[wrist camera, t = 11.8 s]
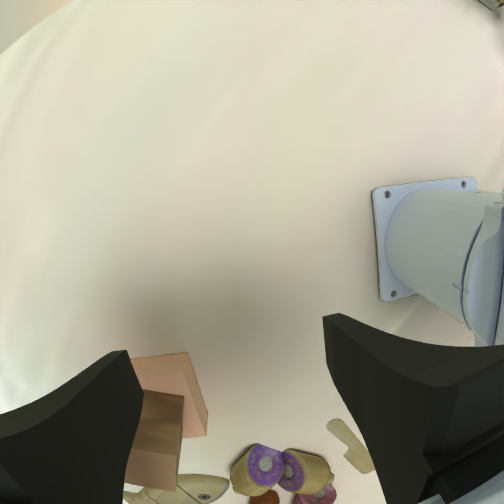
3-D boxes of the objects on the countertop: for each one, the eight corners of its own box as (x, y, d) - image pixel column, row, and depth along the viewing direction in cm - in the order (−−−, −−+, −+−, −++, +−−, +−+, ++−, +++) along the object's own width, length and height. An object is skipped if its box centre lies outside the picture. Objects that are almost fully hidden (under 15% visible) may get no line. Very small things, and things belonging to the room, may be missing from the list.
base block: (187, 349, 22) (182, 373, 19) (208, 410, 23) (206, 435, 20) (113, 358, 22) (101, 380, 19) (140, 416, 23) (132, 439, 20)
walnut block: (184, 395, 19) (175, 455, 14) (182, 434, 20) (175, 491, 15) (126, 386, 19) (104, 441, 14) (129, 425, 20) (113, 479, 14)
